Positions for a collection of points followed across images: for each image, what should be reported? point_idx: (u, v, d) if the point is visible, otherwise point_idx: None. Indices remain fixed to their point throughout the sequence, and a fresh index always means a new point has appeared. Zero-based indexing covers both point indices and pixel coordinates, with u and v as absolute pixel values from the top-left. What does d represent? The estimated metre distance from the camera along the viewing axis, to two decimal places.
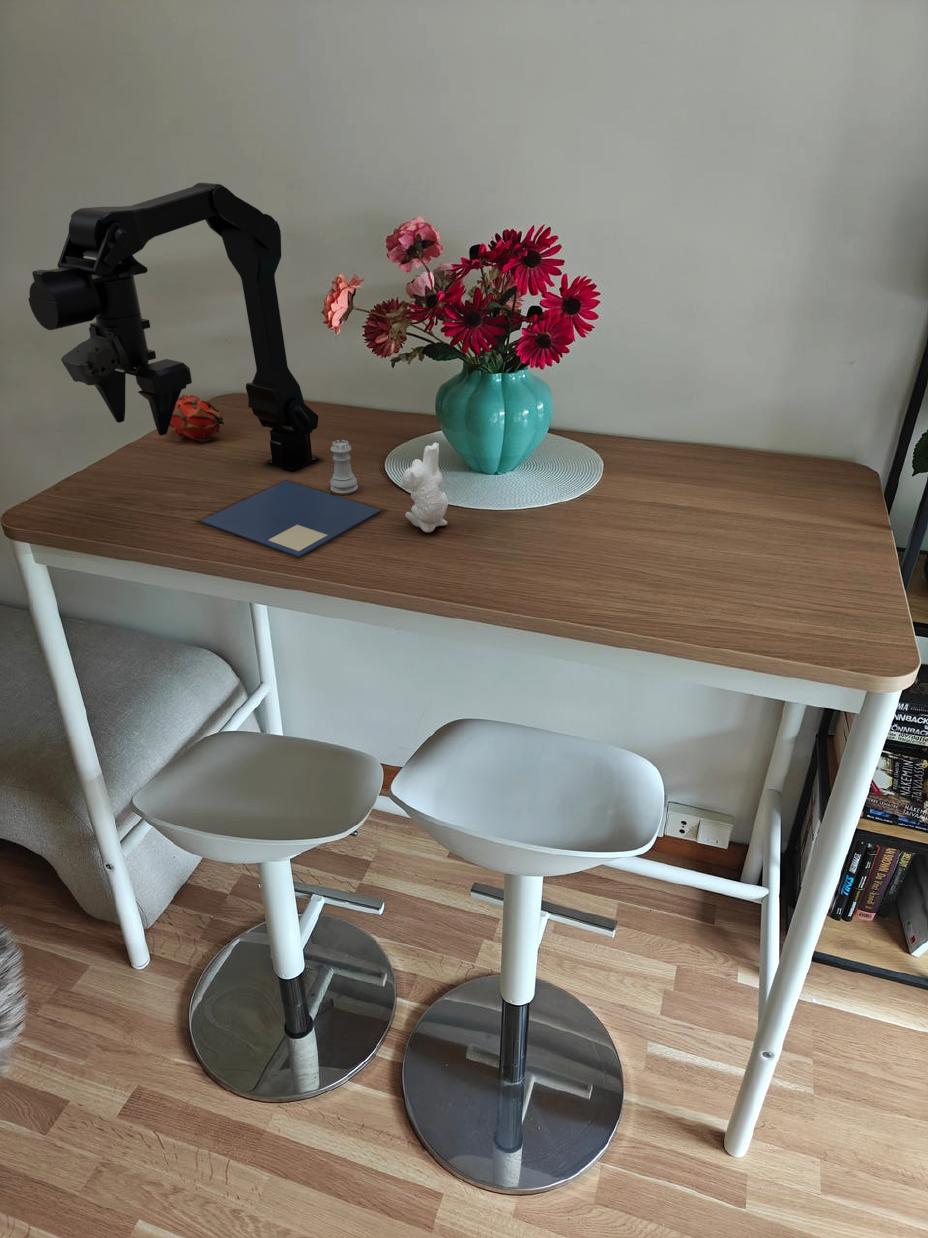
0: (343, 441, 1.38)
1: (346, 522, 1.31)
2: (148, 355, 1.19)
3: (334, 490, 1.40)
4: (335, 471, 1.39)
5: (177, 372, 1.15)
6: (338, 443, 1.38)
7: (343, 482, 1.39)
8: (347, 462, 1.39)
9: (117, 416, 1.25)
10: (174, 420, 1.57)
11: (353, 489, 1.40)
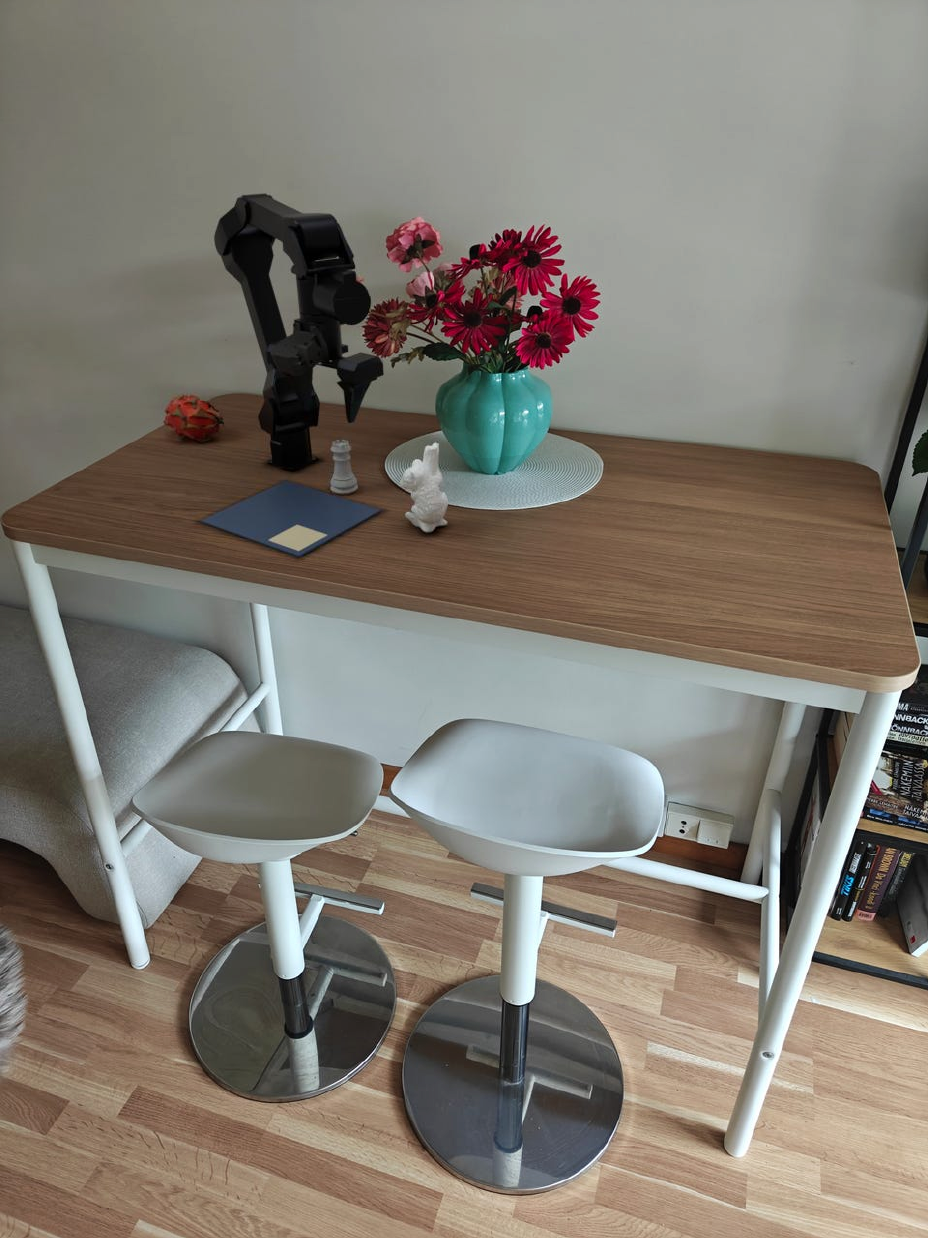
0: (343, 441, 1.38)
1: (346, 522, 1.31)
2: (342, 348, 1.29)
3: (334, 490, 1.40)
4: (335, 471, 1.39)
5: (374, 364, 1.25)
6: (338, 443, 1.38)
7: (343, 482, 1.39)
8: (347, 462, 1.39)
9: (305, 405, 1.36)
10: (174, 420, 1.57)
11: (353, 489, 1.40)
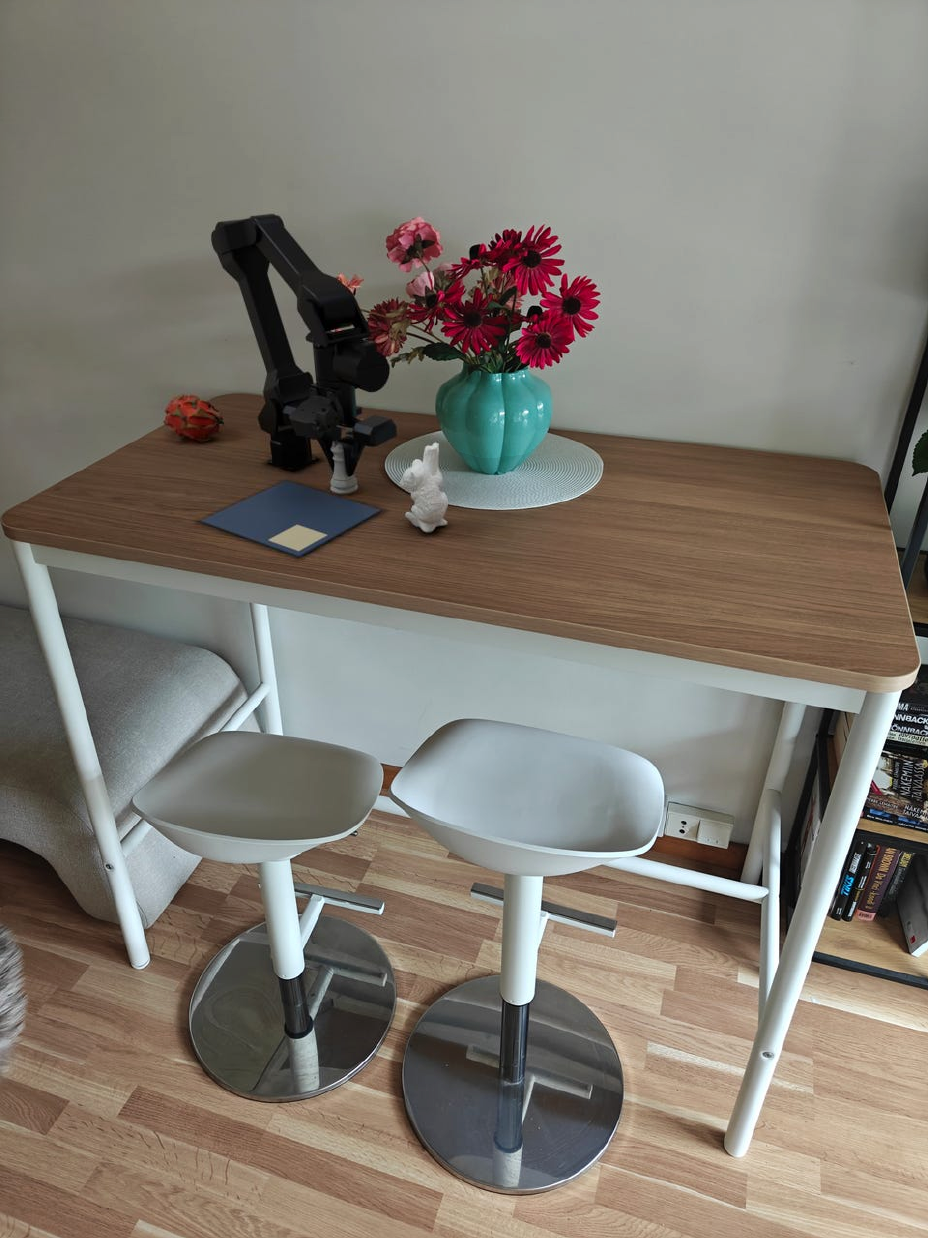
0: None
1: (346, 522, 1.31)
2: (357, 411, 1.35)
3: (334, 490, 1.40)
4: (335, 471, 1.39)
5: (388, 427, 1.31)
6: (338, 443, 1.38)
7: (343, 482, 1.39)
8: None
9: None
10: (174, 420, 1.57)
11: (353, 489, 1.40)
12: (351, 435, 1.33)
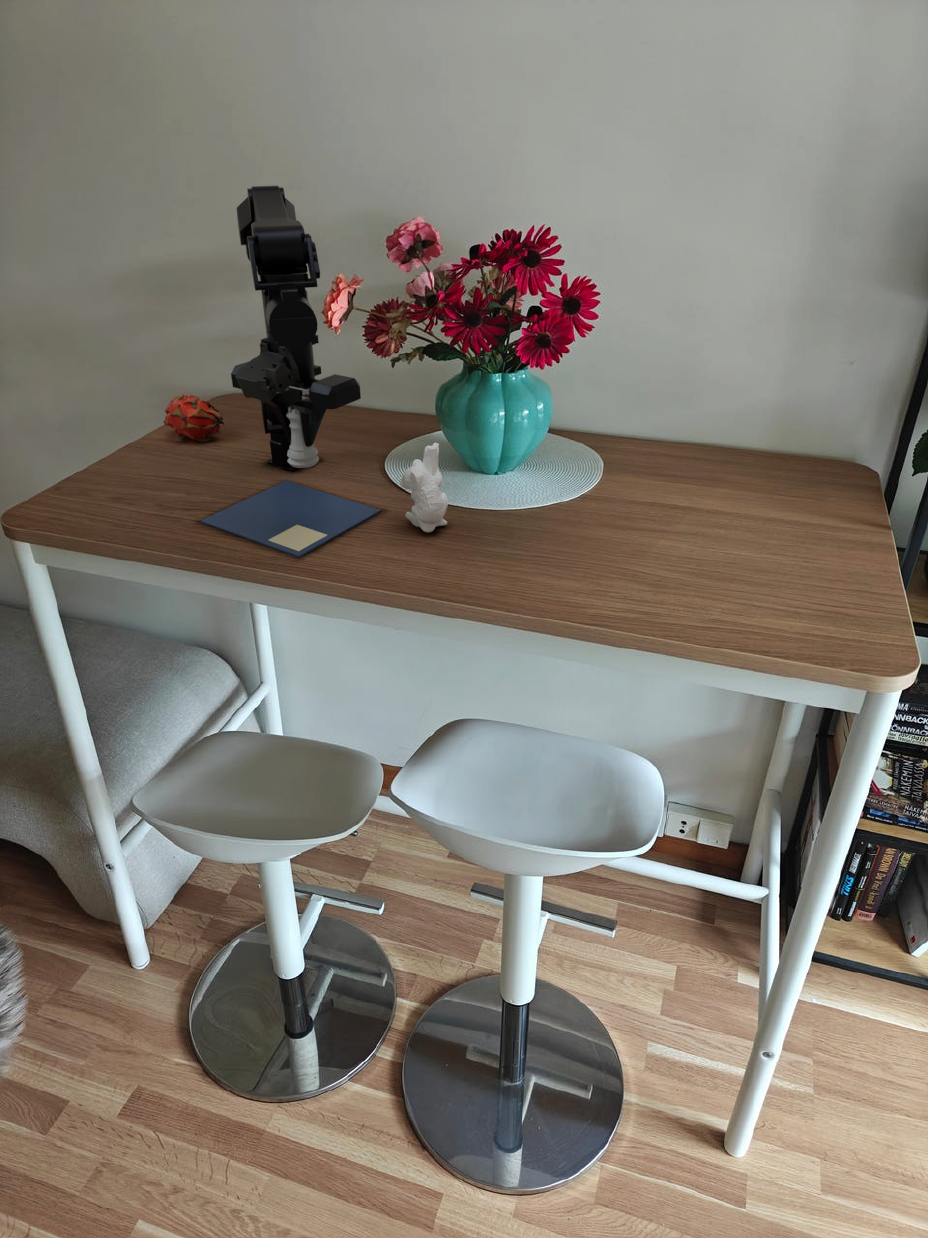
0: None
1: (346, 522, 1.31)
2: (315, 370, 1.18)
3: (291, 463, 1.23)
4: (292, 441, 1.22)
5: (350, 387, 1.14)
6: (295, 408, 1.21)
7: (302, 453, 1.22)
8: None
9: None
10: (174, 420, 1.57)
11: (313, 461, 1.23)
12: (308, 397, 1.16)
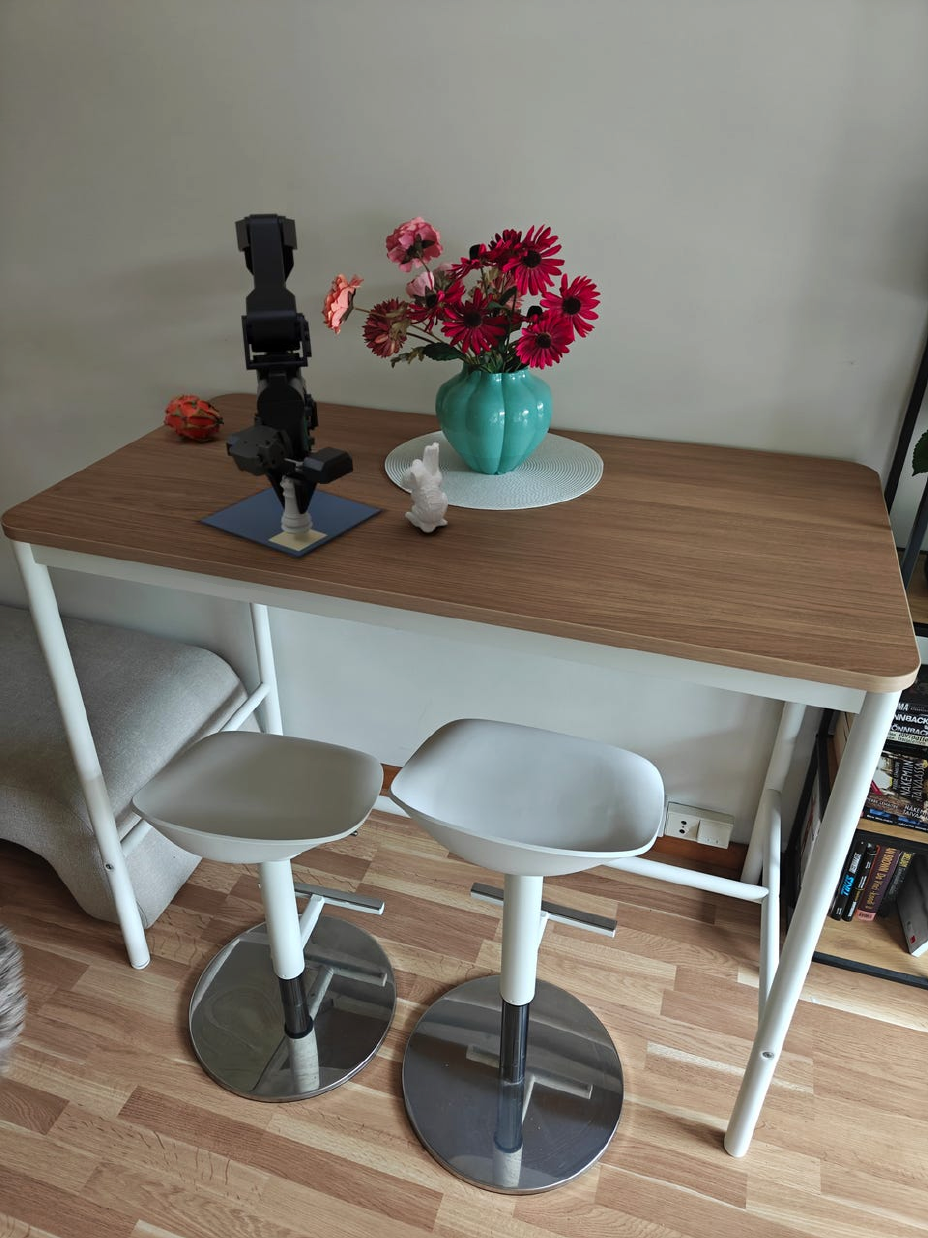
0: None
1: (346, 522, 1.31)
2: (308, 442, 1.19)
3: (285, 529, 1.25)
4: (285, 508, 1.24)
5: (342, 462, 1.16)
6: None
7: (295, 521, 1.24)
8: None
9: None
10: (174, 420, 1.57)
11: (307, 528, 1.25)
12: (301, 470, 1.18)
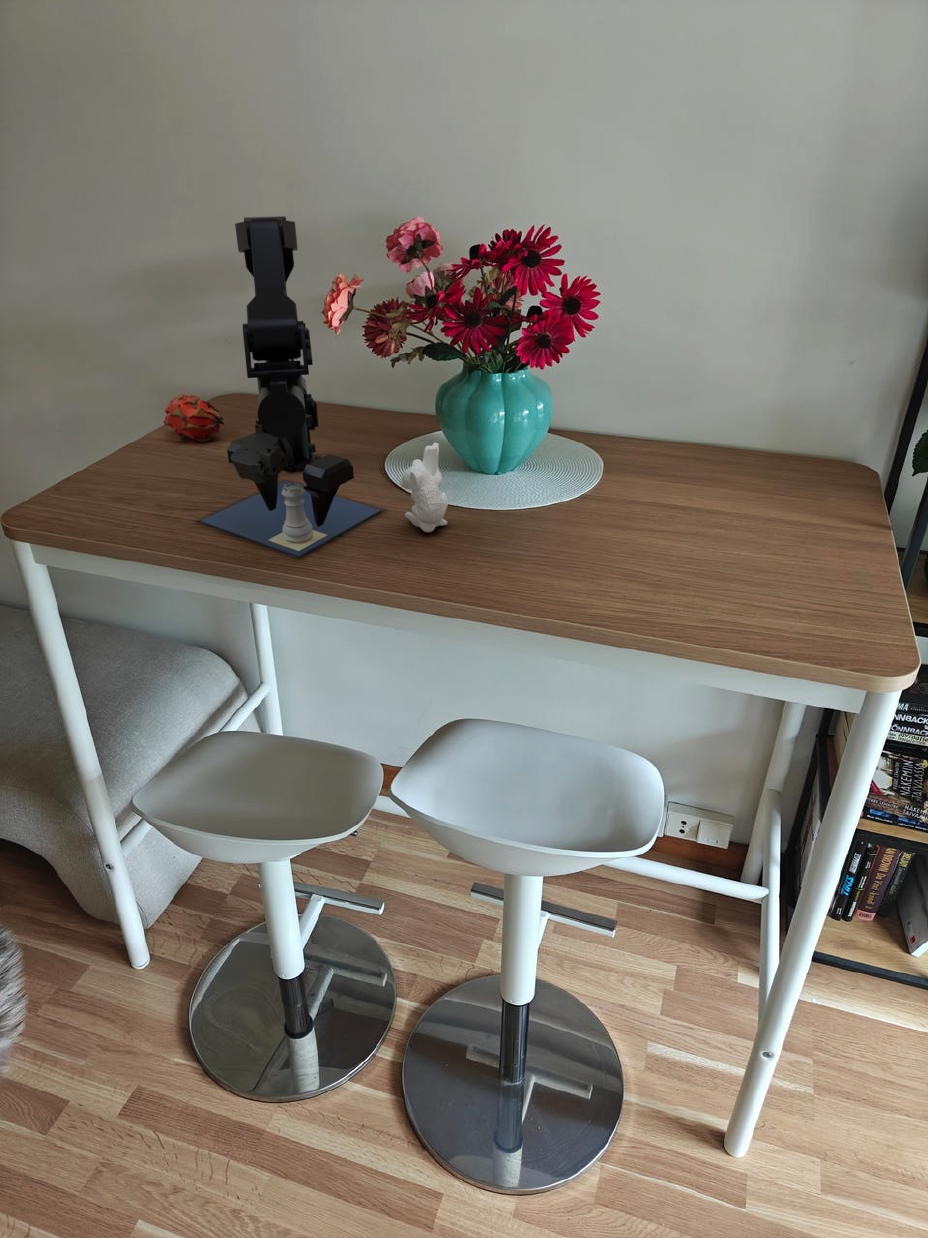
0: (296, 483, 1.24)
1: (346, 522, 1.31)
2: (309, 449, 1.20)
3: (286, 538, 1.25)
4: (287, 517, 1.25)
5: (343, 469, 1.16)
6: (290, 486, 1.23)
7: (296, 530, 1.24)
8: (301, 507, 1.24)
9: (270, 505, 1.26)
10: (174, 420, 1.57)
11: (308, 536, 1.26)
12: None
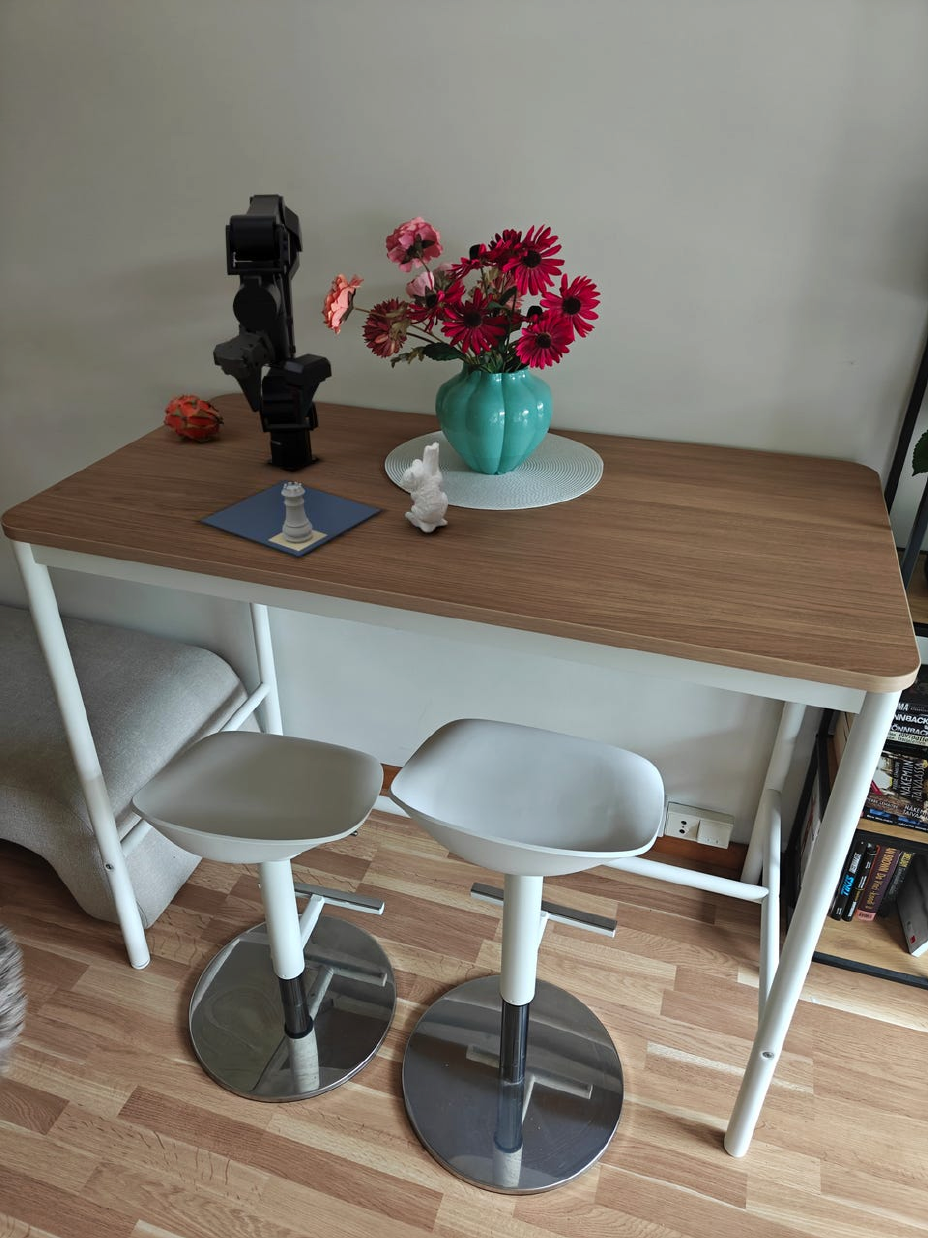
0: (296, 483, 1.24)
1: (346, 522, 1.31)
2: (290, 349, 1.28)
3: (286, 538, 1.25)
4: (287, 517, 1.25)
5: (321, 366, 1.24)
6: (290, 486, 1.23)
7: (296, 530, 1.24)
8: (301, 507, 1.24)
9: (254, 406, 1.34)
10: (174, 420, 1.57)
11: (308, 536, 1.26)
12: None
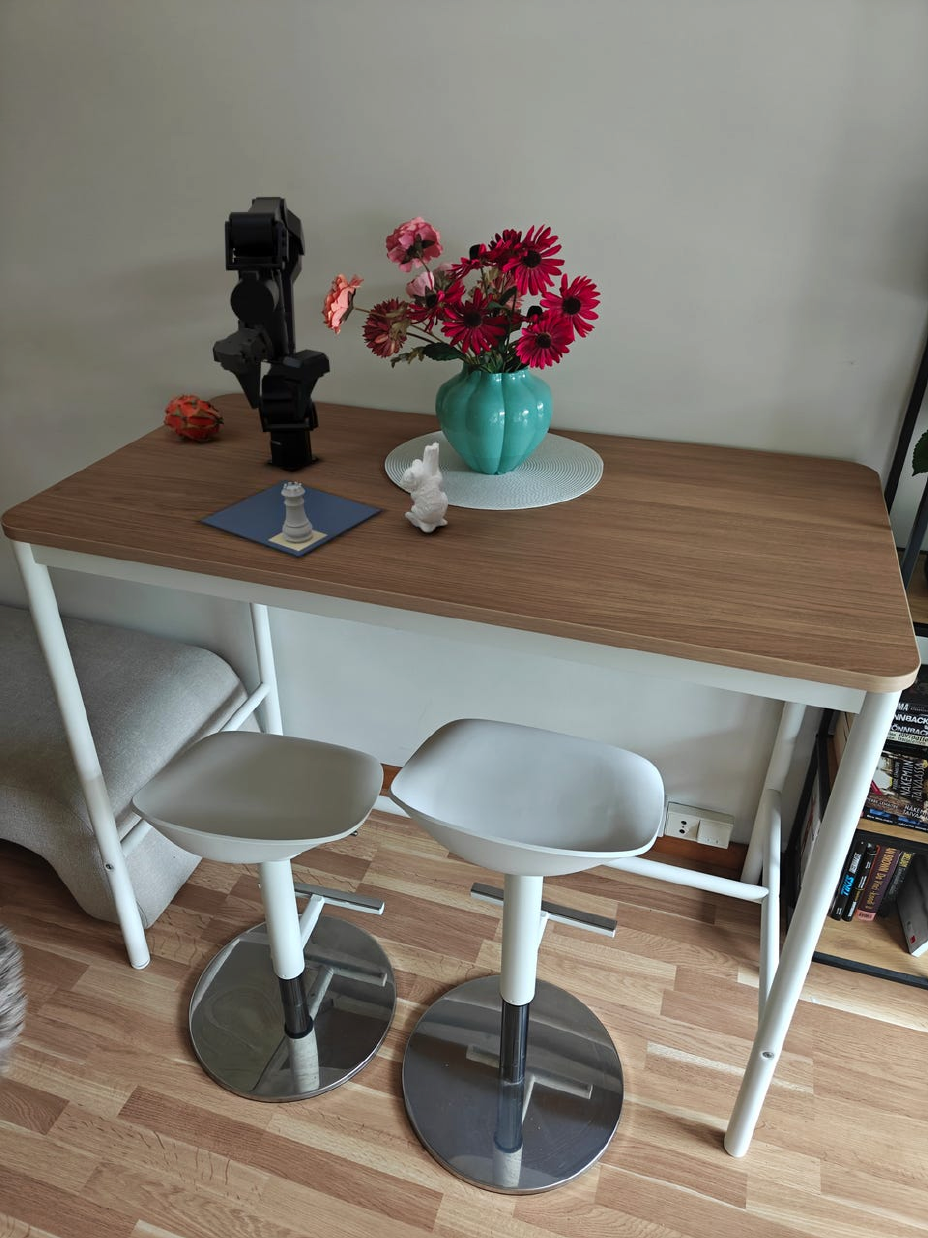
0: (296, 483, 1.24)
1: (346, 522, 1.31)
2: (288, 345, 1.29)
3: (286, 538, 1.25)
4: (287, 517, 1.25)
5: (319, 361, 1.25)
6: (290, 486, 1.23)
7: (296, 530, 1.24)
8: (301, 507, 1.24)
9: (253, 403, 1.35)
10: (174, 420, 1.57)
11: (308, 536, 1.26)
12: None
